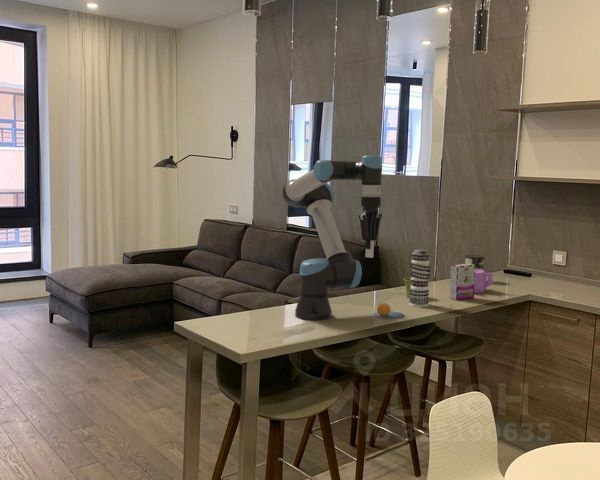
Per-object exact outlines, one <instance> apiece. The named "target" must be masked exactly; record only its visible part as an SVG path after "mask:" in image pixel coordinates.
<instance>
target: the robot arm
mask: <svg viewBox="0 0 600 480" xmlns="http://www.w3.org/2000/svg"><path fill="white" fill-rule="evenodd" d="M361 159H362V160H331V159H330V160H329V159H323V160H321V159H320V160H317V161H316V162H315V164H314V165H313V169H312V170H310V171H308V172H307V173H304V174H303V175H300V176H299V177H298V178H296V179H290V180H289V181H287V182H285V184H284V185H283V186H282V188H281V197H282V200H283V201H284V202H285V203H286V204H287V205H288V206H290V207H294V208H305V211H306V213H307V214H308V215H309V216H311V217H312V220H313V223H314V226H315V228H316V231H317V234H318V237H319V240H320V243H321V246H322V248H323V252H324V254H325V256H326V258H324V257H318V258H309V259H306V260H303V261H302V262H301V263H300V268H299V298H298V301H297V304H296V306H295V307H296V308H295V310H294V313H295V314H294V316H295V317H297V319H303V320H307V321H308V320H310V321H321V320H327V319H330V318H332V316H333V312H332V311H333V310H332V308H331V307H332V306H331V303H330V301H329V290H344V289H348V290H349V289H351V288H352V289H353V288H356V287H357V286H358V285H359V284H360V283H361V279H362V274H363V269H362V265H361V262H360V261H359V260H358V259H353V257H352V254H351V253H350V252H348V251H346V248H345V245H344V243H343V241H342V238H341V235H340V233H339V230H338V227H337V224H336V221H335V219H334V217H333V214H332V211H331V208H332V205H333V203H334V190H333V188H332V187H331V185H330V184H329V183H330V182H331V181H361V189H360V190H361V191H360V195H361V196H362V197H360V205H361V207H363V208H362V213H361V214H358V219H359V222H360V231H361V239H362V240H363V241H365V258H369V259H370V258H372V259H373V258H374V251H375V249H374V248H375V241H377V239H378V238H379V231H380V224H381V220H382V217H383V214H382V213H380V212H379V207H381V205H382V198H381V195H382V176H383V174H382V172H383V165H382V164H383V158H382V156H380V155H363V156H362V158H361Z"/></svg>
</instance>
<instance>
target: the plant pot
mask: <svg viewBox="0 0 600 480" xmlns="http://www.w3.org/2000/svg"><path fill="white" fill-rule="evenodd" d="M403 281H404V284H405V294H406V297H407V298H409V299H410V296H411V295H410V292H411V291H410V289H411V279H410V277H404V278H403Z"/></svg>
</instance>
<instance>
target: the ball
mask: <svg viewBox="0 0 600 480" xmlns="http://www.w3.org/2000/svg"><path fill="white" fill-rule="evenodd" d="M390 311H391V307H390V305H389V304H387V303H385V302H382V303H380V304H378V305H377V307H376V312H378V314H379V315H380V316H387V315H389V313H390Z"/></svg>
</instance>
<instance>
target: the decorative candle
mask: <svg viewBox="0 0 600 480" xmlns="http://www.w3.org/2000/svg"><path fill="white" fill-rule="evenodd" d="M430 255H431V253H429V251H428V250H427V249H423V248H422V249H421V248H420V249H419V248H418V249H417V248H416V249H414V250H413V252H411V261H409V264H410V265H409V268H410V270H409V271H410V273H409V275H410V277H409V278H410V279H411V289H410V291H411V292H410V295H411V296H410V298H409V300H408V301H409V302H410V303H409V306H410V307H411V306H412V307H419V308H422V307H423V308H425V307H428V306H429V303H430V302H429V299H430V297H429V295H430V294H429V292H430V290H429V281H430V279H431V278H430V276H431V274H430V272H431V267H432V266H430Z"/></svg>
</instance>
